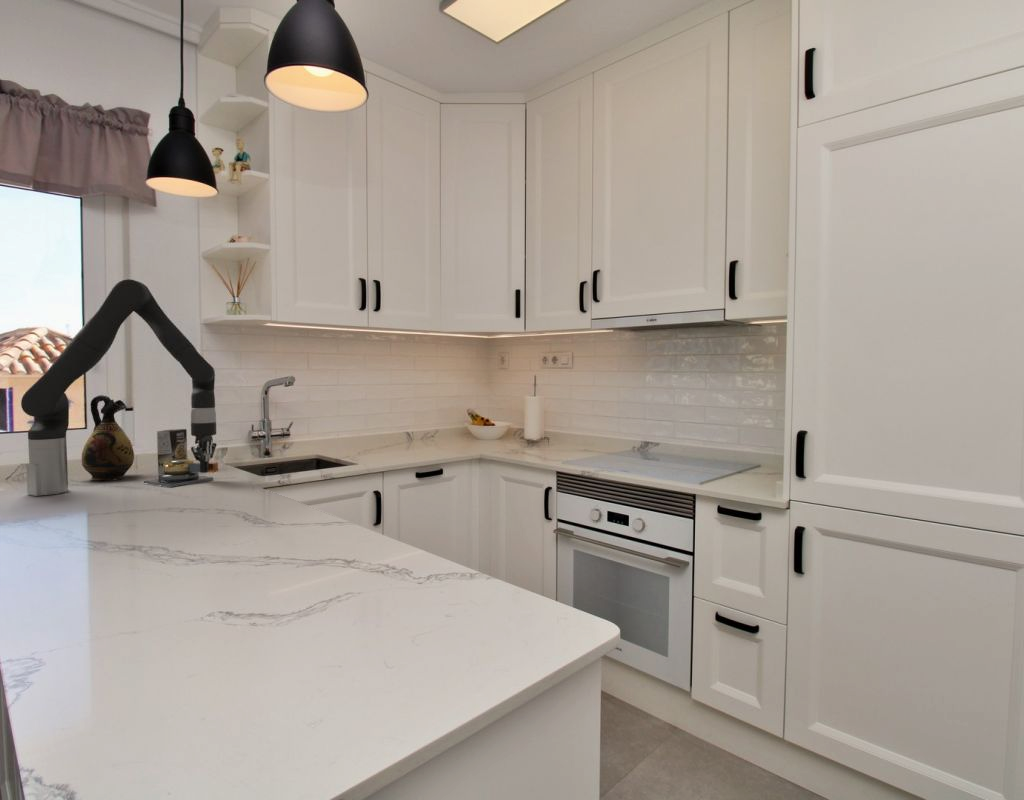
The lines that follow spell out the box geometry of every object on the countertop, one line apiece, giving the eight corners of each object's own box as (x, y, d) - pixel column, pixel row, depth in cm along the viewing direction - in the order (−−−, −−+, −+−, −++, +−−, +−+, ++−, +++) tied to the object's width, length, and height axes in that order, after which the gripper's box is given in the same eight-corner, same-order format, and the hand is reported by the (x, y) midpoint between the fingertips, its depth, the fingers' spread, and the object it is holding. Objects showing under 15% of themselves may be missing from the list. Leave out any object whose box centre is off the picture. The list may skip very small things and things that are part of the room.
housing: (169, 487, 184) (169, 465, 184) (143, 483, 191) (142, 462, 191) (213, 480, 197) (212, 459, 197) (187, 476, 204) (186, 456, 204)
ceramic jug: (145, 475, 208) (142, 394, 207) (111, 483, 193) (108, 395, 192) (103, 474, 210) (100, 394, 209) (66, 482, 195) (63, 396, 194)
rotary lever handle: (156, 474, 189) (156, 462, 189) (173, 470, 199) (173, 458, 199) (208, 474, 189) (207, 462, 189) (223, 469, 198) (222, 458, 198)
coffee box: (174, 473, 212) (172, 430, 211) (157, 473, 212) (155, 431, 211) (188, 469, 221) (187, 428, 220) (172, 469, 221) (171, 428, 220)
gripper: (205, 422, 183) (206, 475, 184) (224, 419, 196) (225, 469, 197) (181, 422, 183) (182, 475, 183) (202, 420, 196) (203, 469, 197)
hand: (204, 472), depth 190 cm, fingers closed
